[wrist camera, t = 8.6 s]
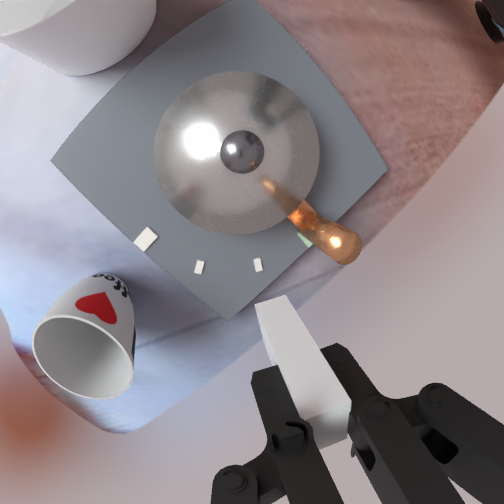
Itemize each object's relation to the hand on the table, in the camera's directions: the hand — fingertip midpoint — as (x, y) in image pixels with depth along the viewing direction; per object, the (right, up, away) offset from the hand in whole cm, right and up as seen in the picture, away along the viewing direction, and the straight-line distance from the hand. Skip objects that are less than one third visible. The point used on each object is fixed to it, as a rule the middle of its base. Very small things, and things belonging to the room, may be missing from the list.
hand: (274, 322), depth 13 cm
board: (-3, +12, +10) cm, 16 cm away
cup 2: (-16, -1, +12) cm, 19 cm away
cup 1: (-15, +24, +2) cm, 29 cm away
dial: (-1, +10, +8) cm, 13 cm away
